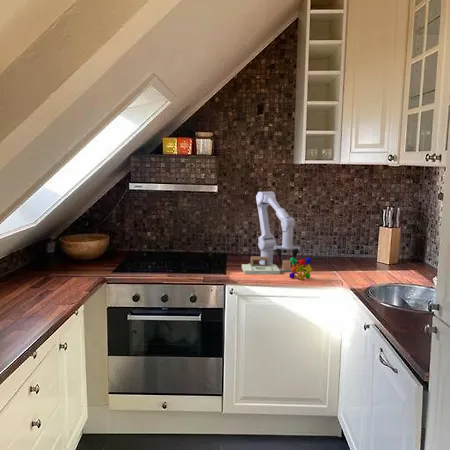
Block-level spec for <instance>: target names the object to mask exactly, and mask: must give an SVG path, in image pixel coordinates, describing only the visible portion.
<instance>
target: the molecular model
mask: <svg viewBox="0 0 450 450" xmlns="http://www.w3.org/2000/svg"><path fill="white" fill-rule="evenodd" d="M289 260H290V262H291V264H292V267H291V271H292V272H289V278H290V279H294V278H298V280H300V281H304V279H309V278H311V273H312V272H313V268H312V267H311V262H312V258H311V257H306V258H305V260H304V259H302V258H301V259H300V260H298V259H296V257H295V258H293V257H292V256H291V257H290V259H289ZM295 265H296V266H295ZM305 270H306V271H305ZM298 271H299V272H298ZM302 273H303V274H302Z"/></svg>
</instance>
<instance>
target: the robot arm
mask: <svg viewBox="0 0 450 450" xmlns="http://www.w3.org/2000/svg"><path fill="white" fill-rule="evenodd" d="M255 200H256V206H257V211H258V212H257V213H258V218H259V219H258V220H259V224H260V233H261V235H260V236H259V237H258V238H257V239H258V242H257V246H258V248H259V250H260V256H261V257H267V258H268V263H269V265H275V264H274V263H273V260H274V251H275V252H276V254H277V258H278V262H279V263H282V258H281V257H282V250H283V251H289V250H290V251H291V252H292V256H291V258H292V257H293V258H295V259H296V257H297V255H298V254H299V251H300V250H301V246H300V245H293V236H294V235H293V234H294V228H295V226H296V220H295V218H294V217H292V216H290V215H289V213H288V212H287V211H286V209H285V208H282V207H281V206H280V204H279V202H278V201H277V199H276V194H275V193H274V191H272V190H271V191H270V190H269V191H257V194H256V196H255ZM269 206H270V207H272V208H273V210H274V211H275V216H276V217H277V218H278V220H279V221H280V226H281V231H282V238H281V239H282V240H281V241H282V244H281V245H277V242H276V241H277V240H276V238H275V236H274V235H273V234H272V233H271V228H270V222H269V221H270V220H269V214H268V207H269ZM258 263H259V264H265V260H259V261H258Z"/></svg>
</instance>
